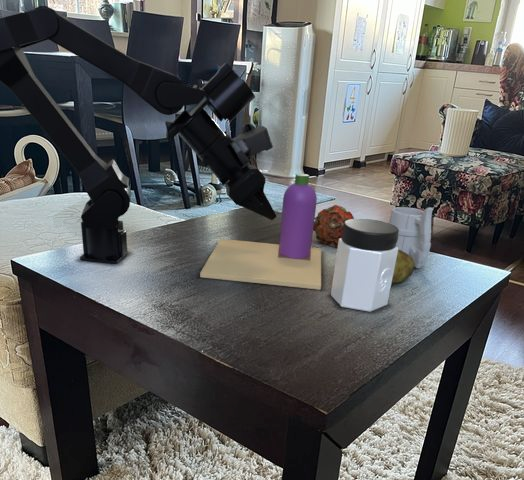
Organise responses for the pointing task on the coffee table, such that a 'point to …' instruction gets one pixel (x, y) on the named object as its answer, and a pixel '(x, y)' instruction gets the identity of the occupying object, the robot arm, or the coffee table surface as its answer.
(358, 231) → the jar
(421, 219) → the mug
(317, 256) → the cork mat
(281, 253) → the purple bottle
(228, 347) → the coffee table surface
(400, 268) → the potato
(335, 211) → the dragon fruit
